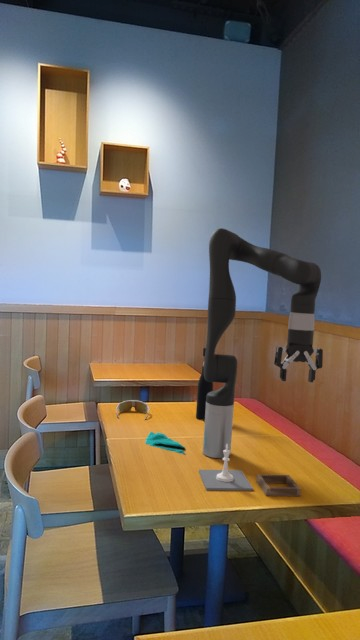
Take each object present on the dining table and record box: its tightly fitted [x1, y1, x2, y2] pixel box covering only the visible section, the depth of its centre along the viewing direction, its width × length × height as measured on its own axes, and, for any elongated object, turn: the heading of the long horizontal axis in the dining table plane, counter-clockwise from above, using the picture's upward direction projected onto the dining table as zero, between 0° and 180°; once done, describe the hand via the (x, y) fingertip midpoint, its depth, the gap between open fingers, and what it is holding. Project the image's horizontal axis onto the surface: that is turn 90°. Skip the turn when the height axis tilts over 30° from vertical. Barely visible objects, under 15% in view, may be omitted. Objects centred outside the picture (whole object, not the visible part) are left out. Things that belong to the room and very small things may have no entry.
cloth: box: [144, 431, 187, 455], centre depth 163 cm, size 26×14×2 cm, turn 18°
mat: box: [198, 469, 254, 492], centre depth 132 cm, size 13×13×1 cm
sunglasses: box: [115, 399, 150, 421], centre depth 196 cm, size 14×15×5 cm
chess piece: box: [216, 444, 234, 482], centre depth 132 cm, size 5×5×10 cm
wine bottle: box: [195, 347, 214, 421], centre depth 198 cm, size 6×6×30 cm
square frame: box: [255, 474, 302, 497], centre depth 129 cm, size 10×10×2 cm
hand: (297, 381), depth 140 cm, fingers open, 8 cm apart
